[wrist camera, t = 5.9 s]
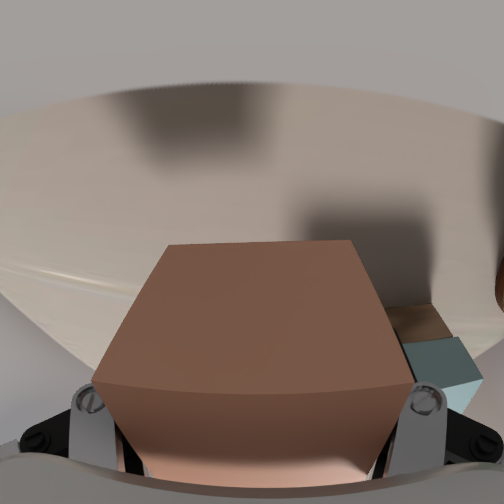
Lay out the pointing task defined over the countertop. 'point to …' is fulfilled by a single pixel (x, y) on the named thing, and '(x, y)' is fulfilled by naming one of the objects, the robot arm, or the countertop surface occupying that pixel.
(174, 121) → the countertop surface
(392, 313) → the tower base block
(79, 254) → the countertop surface
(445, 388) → the tower top block
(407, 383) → the terracotta cube
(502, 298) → the food container
